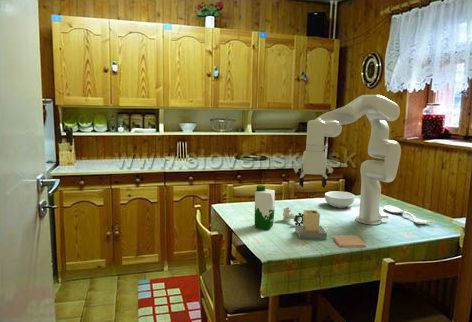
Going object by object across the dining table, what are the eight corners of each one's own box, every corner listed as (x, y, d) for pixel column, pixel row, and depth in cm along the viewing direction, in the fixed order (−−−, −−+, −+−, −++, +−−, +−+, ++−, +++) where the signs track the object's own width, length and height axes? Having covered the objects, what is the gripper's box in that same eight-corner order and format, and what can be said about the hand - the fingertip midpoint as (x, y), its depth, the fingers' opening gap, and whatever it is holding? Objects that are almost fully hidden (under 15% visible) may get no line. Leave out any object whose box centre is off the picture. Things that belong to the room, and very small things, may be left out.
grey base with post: (320, 231, 178) (321, 211, 176) (326, 239, 168) (327, 217, 167) (295, 231, 178) (296, 210, 176) (299, 239, 168) (300, 217, 166)
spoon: (419, 228, 187) (420, 221, 187) (379, 209, 218) (380, 204, 217) (435, 226, 190) (435, 220, 189) (393, 209, 220) (394, 203, 220)
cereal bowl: (323, 201, 233) (323, 190, 232) (351, 203, 230) (352, 191, 229) (325, 209, 216) (326, 197, 215) (356, 211, 214) (356, 198, 213)
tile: (356, 237, 171) (357, 235, 171) (365, 247, 160) (366, 244, 160) (332, 237, 171) (332, 235, 171) (339, 247, 160) (340, 244, 160)
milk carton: (257, 223, 189) (258, 183, 186) (275, 225, 186) (276, 185, 183) (252, 228, 181) (253, 187, 177) (270, 231, 178) (272, 189, 174)
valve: (279, 220, 194) (294, 227, 184) (279, 208, 193) (295, 214, 183) (289, 218, 198) (304, 225, 188) (289, 206, 197) (305, 212, 187)
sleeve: (315, 227, 176) (316, 210, 174) (318, 231, 170) (319, 214, 168) (302, 226, 175) (303, 210, 174) (305, 231, 169) (306, 214, 168)
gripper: (332, 147, 171) (329, 185, 173) (293, 146, 170) (291, 184, 173) (336, 150, 163) (334, 189, 166) (296, 149, 163) (294, 188, 165)
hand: (312, 186), depth 169 cm, fingers open, 9 cm apart
